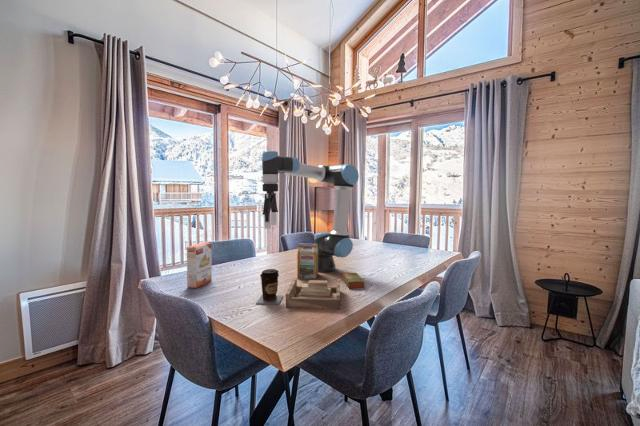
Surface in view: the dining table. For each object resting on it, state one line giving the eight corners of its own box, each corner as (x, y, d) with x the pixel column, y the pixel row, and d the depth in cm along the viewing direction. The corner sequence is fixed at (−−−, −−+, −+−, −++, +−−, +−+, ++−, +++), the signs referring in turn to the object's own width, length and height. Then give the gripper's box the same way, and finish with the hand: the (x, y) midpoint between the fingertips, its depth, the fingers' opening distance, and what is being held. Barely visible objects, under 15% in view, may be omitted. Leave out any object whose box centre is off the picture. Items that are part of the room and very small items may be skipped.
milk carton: (318, 273, 180) (318, 242, 178) (316, 279, 169) (316, 245, 168) (300, 273, 181) (300, 241, 179) (297, 278, 170) (297, 245, 169)
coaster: (262, 296, 142) (262, 294, 142) (283, 296, 142) (283, 295, 142) (256, 304, 133) (256, 302, 132) (278, 305, 132) (278, 303, 132)
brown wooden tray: (293, 289, 152) (293, 278, 151) (340, 291, 150) (340, 279, 149) (285, 307, 129) (285, 293, 129) (339, 309, 128) (339, 295, 127)
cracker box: (197, 288, 152) (196, 247, 151) (186, 287, 154) (185, 247, 152) (212, 280, 166) (211, 242, 164) (202, 279, 167) (201, 242, 166)
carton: (356, 279, 170) (356, 272, 170) (364, 289, 154) (364, 281, 154) (342, 280, 169) (342, 272, 169) (348, 289, 153) (348, 281, 153)
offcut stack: (302, 291, 149) (302, 279, 149) (330, 292, 148) (330, 280, 148) (300, 295, 144) (300, 283, 144) (330, 295, 143) (330, 283, 143)
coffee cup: (283, 298, 138) (283, 270, 137) (269, 304, 131) (269, 274, 130) (270, 294, 143) (270, 267, 142) (256, 299, 137) (256, 271, 136)
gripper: (268, 183, 160) (269, 223, 162) (255, 183, 135) (256, 230, 137) (282, 183, 160) (283, 223, 162) (272, 183, 135) (272, 230, 137)
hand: (270, 226), depth 149 cm, fingers open, 13 cm apart
